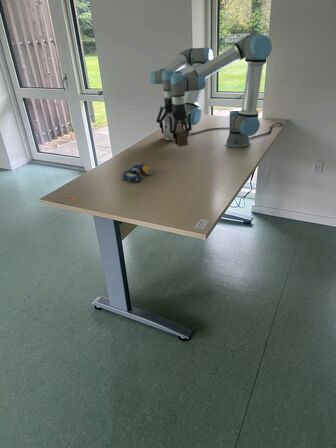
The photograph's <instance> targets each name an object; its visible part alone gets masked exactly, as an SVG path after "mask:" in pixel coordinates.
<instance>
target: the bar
mask: <svg viewBox="0 0 336 448" xmlns="http://www.w3.org/2000/svg"><path fill="white" fill-rule="evenodd" d="M166 122H167V134H168V135H169V136H170V138H171V139H172V140H173V141H172V142H174V143H175V139H173V133H170V132H169V121H166ZM174 122H175V121H174V120H172V131H173V127H174ZM175 133H176V134H177V147H178V148H179V147H187V146H188V145H189V143H188V140H189V139H188V137H187V131H186V130H185V127H184V128H183V127H182V126H181V125H180V124H179V123H177V128H176V132H175Z"/></svg>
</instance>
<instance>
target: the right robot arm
mask: <svg viewBox="0 0 336 448" xmlns="http://www.w3.org/2000/svg"><path fill="white" fill-rule="evenodd" d="M272 49H273V43H272V40H271V39H270V38H269V37H268V36H267V35H265V34H262V33H261V34H256V33H255V34H253V33H251V34H248V35H246V36H244V37H243V38H241V39H239V40H238V41H236V42H235V43H233V44H231V47H230V48H228V49H226V50H225V51H223V52H222V53H220V54H218V55H216V56H214V57H213V59H211V60H210V61H208V62H206V63H205V64H203V65H201V66H200V67H198V68H196V69H195V70H193V69H192V70H191V71H189V72H184V75H183V74H174V75H171V77H170V79H171V84H170V85H171V94H172V104H173V105H172V108H173V113H172V115H170V116H168V118H169V132H170V133H173V139H175V142H174V144H175V145H177V134H176V133H175V132H176V128H177V123H178V121H179V120H182V121H183V124H184V125H183V126H184V129H185V130H186V131H187V138H189V137H190V134H189V133H190V131H192V125H191V118H190V117H191V113H187V112H186V107H185V102H186V92H187V93H188V91H196V90H201V91H202V90H205V89H206V84H207V83H206V79H207V78H209V77H210V76H212V75H214V74H216V73H217V72H219V71H221V70H223V69H224V68H226V67H227V66H230V65H231V64H232V63H235V62H236V61H242V60H244V62H245V64H246V73H245V81H244V89H243V97H242V106H241V108H235V109H231V110H230V111H229V127H228V128H229V133H228V136H227V139H226V146H227V147H229V148H234V149H240V148H246V147H248V146H250V144H251V143H250V139H253V138H257V137H261V136H264V135H267V134H270V133H271V131H272V127H274V126H276V125H282V126H283V125H284V124H283V123H282V122H276V123H274V124H271V125H270V126H269V130H268V131H267V132H265V133H261V134H258V135H255V134H256V133H257V132H259V130H260V126H261V124H260V123H261V122H260V120H259V111H258V110H257V109H258V102H259V94H260V88H261V81H262V75H263V67H264V65H265V64H267V61H268V57H269V56H270V55H271V52H272ZM186 115H187V119H188V125H187V124H186V121H185V116H186ZM172 117H174V118H175V120H174V121H175V122H174V127H173V131H172ZM177 146H178V145H177Z"/></svg>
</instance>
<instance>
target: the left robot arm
mask: <svg viewBox="0 0 336 448" xmlns="http://www.w3.org/2000/svg"><path fill="white" fill-rule="evenodd" d="M213 58H214V53H213V51H212V49H211V48H210V47H205V46H204V47H191V48H187V49H185V50H182V51H181V52H179V53H178V54H177V55H176V56H175V57H174V59H172V60H170V62H168V63H167V64H166V65H164V66H163V67H162V68H160V69H159V70H157V71H156V70H155V71H151V72H150V75H149V81H150V83H151V84H153V85H162V87H163V101H164V102H163V103H164V106H161V105H160V107H159V111H158V115H157V117H156V120H155V121H156V123H158V124H159V128H160V129H161V133H162V134H163V135H162V139H163V140H164V141H167V142H174V141H173V140H172V139H171V138H170V136H169V135H168V134H167V122H166V121H169V118H168V116H170V115H172V113H173V108H172V105H173V104H172V94H171V85H170V84H171V79H170V77H171V75H174V74H183V75H184V74H185V72H184V71H183V70H181V69H185V68H188V67H191V68H192V71H193V70H195V69H196V68H198V67H200V66H201V65H203V64H205V63H206V62H208V61H210V60H211V59H213ZM201 93H202V90H196V91H188V92H187V96H186V99H185V107H186V112H187V113H191V117H190V118H191V126H197V124H199V122H200V121H201V117H202V110H201V108H200V105H199V103H200V98H201ZM172 120H175V118H174V117H172ZM185 121H186V124H187V126H188V119H187V115H186V116H185ZM163 122H164V123H163ZM178 123H179V124H180V125H181V126H182V127H183V128H184V129H185V127H184V124H183V121H182V120H179V121H178ZM227 129H229V127H212V128H205V129H203V130H198V131H196V132H189V135H196V134H199V133H200V134H201V133H202V132H206V131H211V130H227Z"/></svg>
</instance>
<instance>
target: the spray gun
mask: <svg viewBox="0 0 336 448" xmlns="http://www.w3.org/2000/svg"><path fill="white" fill-rule="evenodd" d="M153 171H154V170H153V168H151V167H150V166H148V165H145V164H144V162H141V163H134V164H133V165H131V166H130V167H129V168H128V169H126V170H125V171H124V172H122V173H121V174H120V175H121V176H120V179H121V180H123V181H125V180H126V181H128V182H130V183H134V182H135V183H136V182H140V181H141V180H142V177H143V175H141V173H144V174H145V175H147V176H151V175H152V174H153Z"/></svg>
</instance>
